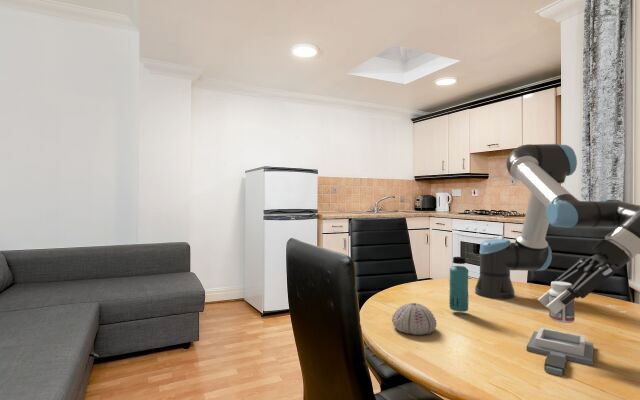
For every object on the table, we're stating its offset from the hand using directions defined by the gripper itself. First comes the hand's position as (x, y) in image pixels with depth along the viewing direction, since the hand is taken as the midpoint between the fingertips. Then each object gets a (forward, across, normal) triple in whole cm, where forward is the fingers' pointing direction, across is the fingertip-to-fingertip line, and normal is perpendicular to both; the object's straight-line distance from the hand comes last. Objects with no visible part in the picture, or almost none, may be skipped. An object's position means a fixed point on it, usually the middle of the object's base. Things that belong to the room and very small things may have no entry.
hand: (546, 306), depth 97 cm
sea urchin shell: (+33, +5, +16) cm, 37 cm away
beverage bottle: (+22, +26, +6) cm, 34 cm away
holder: (+7, -5, -9) cm, 12 cm away
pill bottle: (0, 0, -5) cm, 5 cm away
